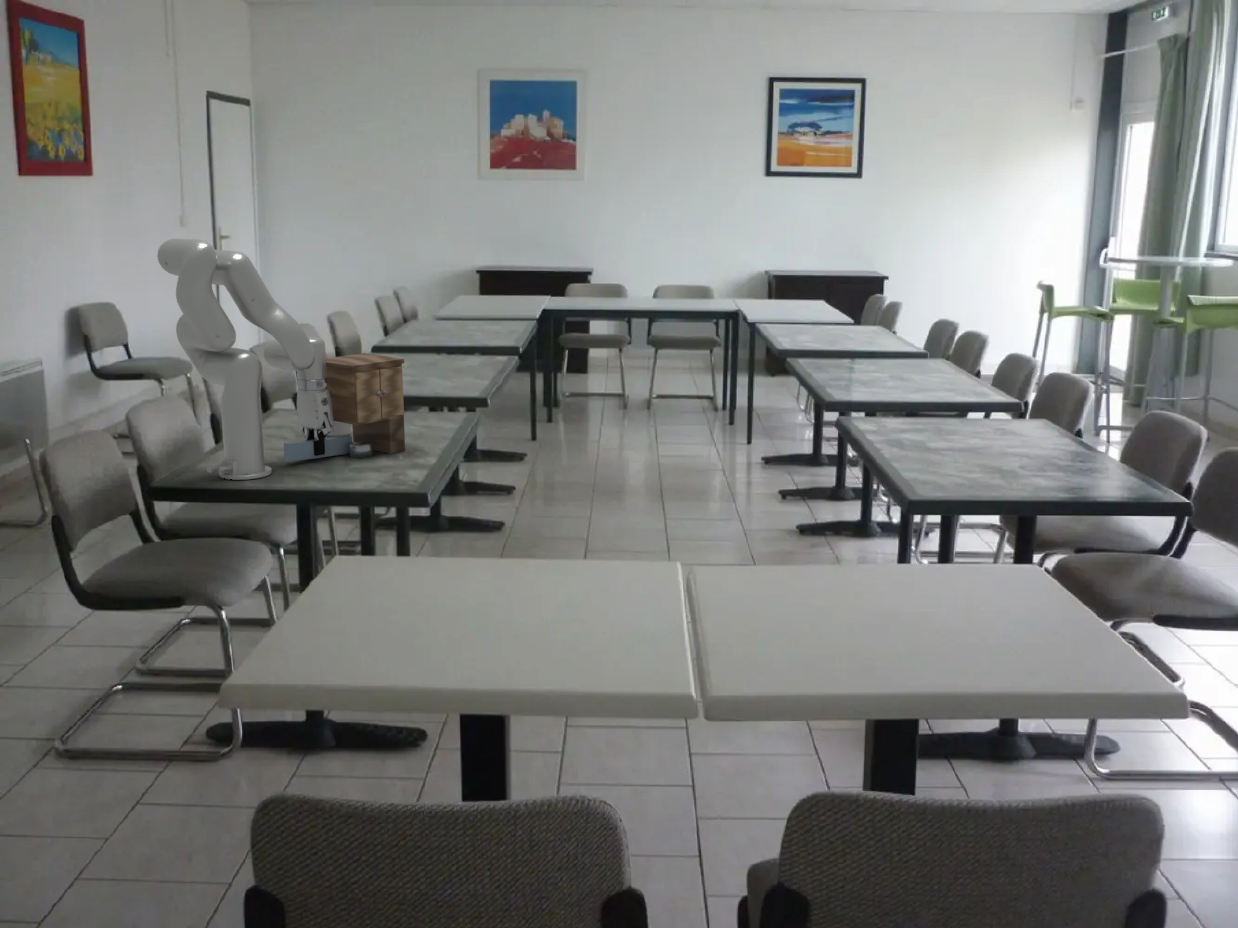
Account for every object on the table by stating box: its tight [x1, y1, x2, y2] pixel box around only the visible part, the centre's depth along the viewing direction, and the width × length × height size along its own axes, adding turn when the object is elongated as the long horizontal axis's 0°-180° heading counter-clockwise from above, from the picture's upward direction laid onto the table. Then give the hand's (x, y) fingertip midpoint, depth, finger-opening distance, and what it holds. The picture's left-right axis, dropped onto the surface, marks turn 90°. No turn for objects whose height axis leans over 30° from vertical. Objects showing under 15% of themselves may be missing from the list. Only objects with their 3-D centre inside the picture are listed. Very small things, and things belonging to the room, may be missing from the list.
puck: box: [349, 441, 373, 459], centre depth 330 cm, size 6×6×4 cm
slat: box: [283, 435, 353, 462], centre depth 326 cm, size 20×2×4 cm, turn 140°
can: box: [326, 421, 352, 438], centre depth 355 cm, size 8×8×12 cm
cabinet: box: [326, 352, 406, 454], centre depth 332 cm, size 17×18×25 cm
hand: (316, 453), depth 325 cm, fingers closed on slat, 2 cm apart
